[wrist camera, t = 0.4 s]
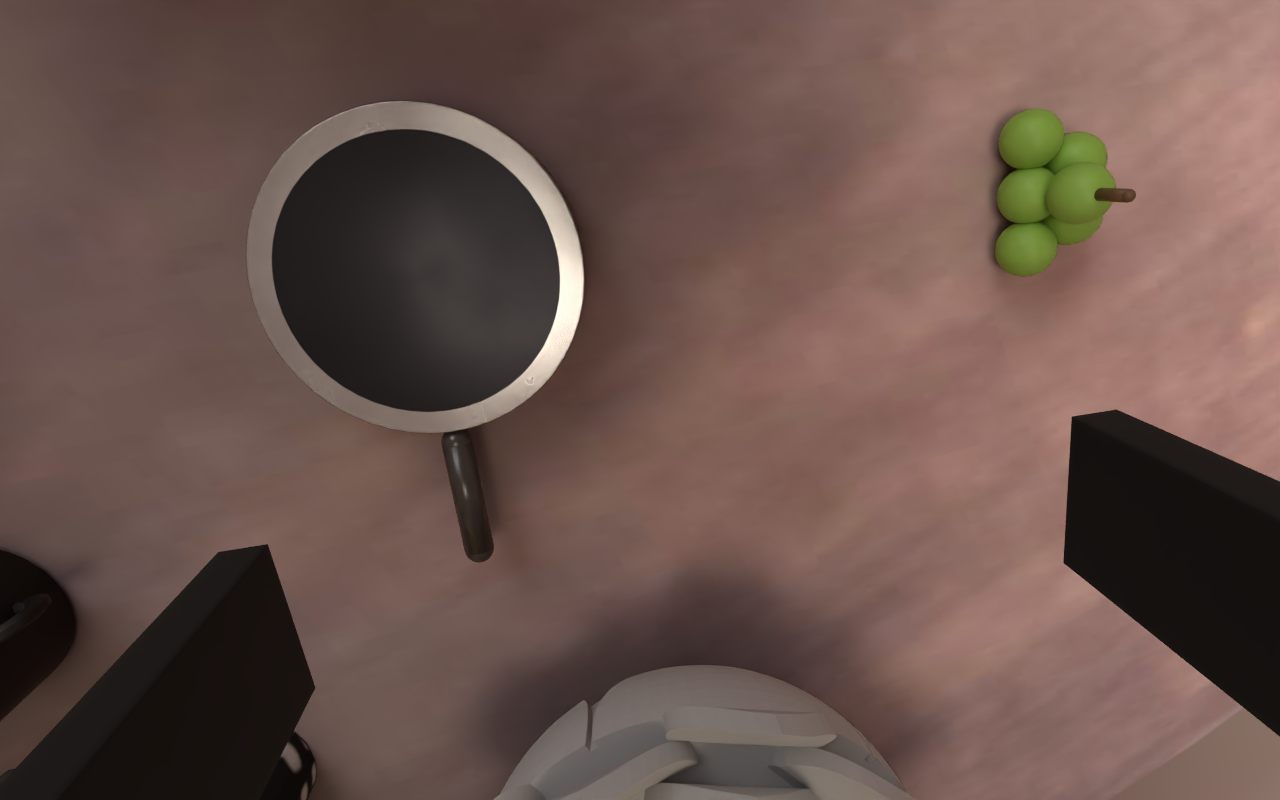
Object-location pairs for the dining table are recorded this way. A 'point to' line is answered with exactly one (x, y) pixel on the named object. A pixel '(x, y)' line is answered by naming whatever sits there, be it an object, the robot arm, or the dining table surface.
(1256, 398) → the dining table surface
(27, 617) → the mug
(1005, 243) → the grapes
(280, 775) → the spotted tube
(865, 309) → the dining table surface
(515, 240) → the pan
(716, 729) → the decorative bowl
